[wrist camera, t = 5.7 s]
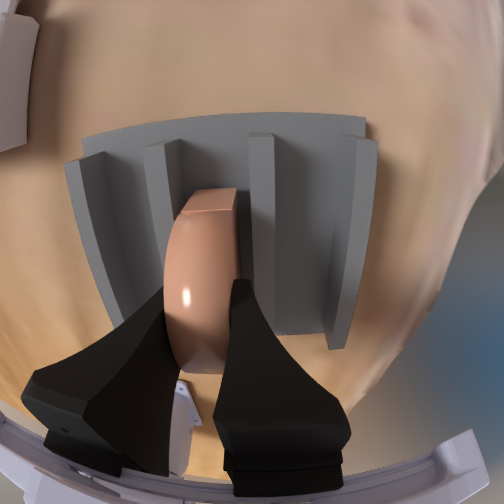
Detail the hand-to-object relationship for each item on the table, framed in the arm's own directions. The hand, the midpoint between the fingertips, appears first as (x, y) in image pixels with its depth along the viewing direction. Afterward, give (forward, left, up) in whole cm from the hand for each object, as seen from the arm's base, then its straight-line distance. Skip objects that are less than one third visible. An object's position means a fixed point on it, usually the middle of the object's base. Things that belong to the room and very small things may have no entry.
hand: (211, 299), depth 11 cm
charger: (+16, +16, -6) cm, 24 cm away
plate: (0, 0, -4) cm, 4 cm away
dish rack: (0, 0, -6) cm, 6 cm away
